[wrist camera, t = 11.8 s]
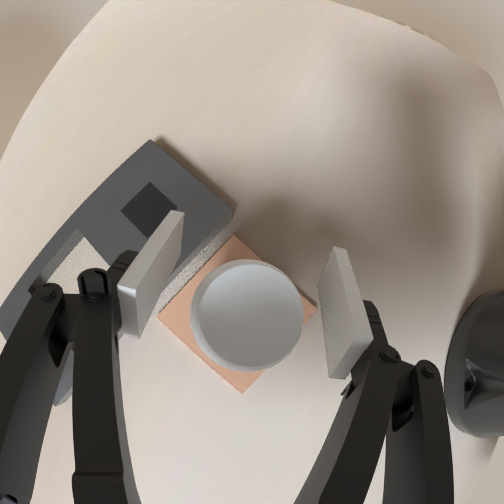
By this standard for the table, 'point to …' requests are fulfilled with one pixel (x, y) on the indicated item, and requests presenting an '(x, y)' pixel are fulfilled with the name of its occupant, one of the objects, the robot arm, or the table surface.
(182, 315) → the coaster
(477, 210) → the table surface
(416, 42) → the table surface
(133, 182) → the holder
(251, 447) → the table surface
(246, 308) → the pill bottle
